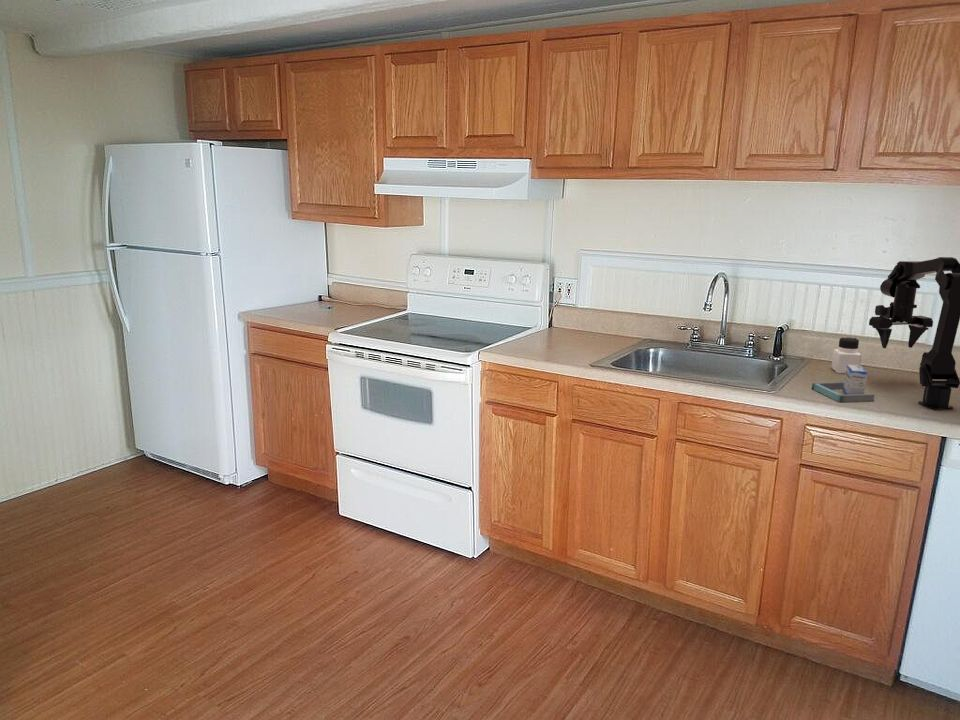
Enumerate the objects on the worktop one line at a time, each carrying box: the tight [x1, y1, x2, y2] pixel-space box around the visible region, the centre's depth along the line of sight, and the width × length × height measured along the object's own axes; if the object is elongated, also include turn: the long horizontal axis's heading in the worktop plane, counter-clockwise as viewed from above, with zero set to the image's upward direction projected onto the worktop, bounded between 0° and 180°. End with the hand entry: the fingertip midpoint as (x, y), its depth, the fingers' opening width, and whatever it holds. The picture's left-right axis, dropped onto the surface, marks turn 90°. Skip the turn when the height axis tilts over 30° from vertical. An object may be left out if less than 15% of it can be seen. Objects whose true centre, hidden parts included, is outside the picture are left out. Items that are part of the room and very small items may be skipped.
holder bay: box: [811, 381, 875, 403], centre depth 221 cm, size 14×11×2 cm
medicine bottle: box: [831, 336, 862, 374], centre depth 247 cm, size 7×7×12 cm
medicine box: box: [842, 365, 868, 395], centre depth 221 cm, size 8×4×9 cm, turn 165°
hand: (897, 347), depth 231 cm, fingers open, 9 cm apart
